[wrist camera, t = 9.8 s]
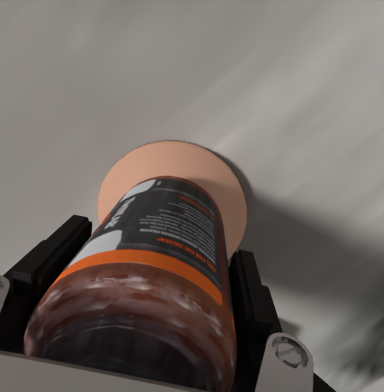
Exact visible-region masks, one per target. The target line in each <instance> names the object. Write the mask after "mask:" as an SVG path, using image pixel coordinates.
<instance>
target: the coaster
mask: <svg viewBox="0 0 384 392" xmlns="http://www.w3.org/2000/svg"><path fill="white" fill-rule="evenodd" d="M158 176H175V177H181V178H184V179H187V180H190V181H192V182H194V183H196V184H197V185H199V186H200V187H202V188H203V189H205V190H206V191H207V192H208V193H209V194H210V195H211V196H212V198H213V199H214V201H215V202H216V204H217V206H218V208H219V210H220V213H221V216H222V221H223V225H224V233H225V240H226V249H227V259H229V258H230V257H231V256H232V255H233V253H234V252H235V251H236V249H237V248H238V246H239V244H240V242H241V240H242V238H243V235H244V232H245V228H246V223H247V205H246V200H245V196H244V193H243V191H242V188H241V185H240V183H239V181H238V179H237V177H236V175H235V174H234V172H233V171H232V170H231V168H230V167H229V166H228V165H227V164H226V163H225V162H224V161H223V160H222V159H221V158H220V157H218V156H217V155H216V154H214V153H213V152H211V151H210V150H208V149H206V148H204V147H201V146H199V145H197V144H193V143H190V142H185V141H179V140H164V141H156V142H152V143H148V144H145V145H143V146H141V147H138V148H136V149H135V150H133V151H131V152H130V153H128V154H127V155H126V156H124V157H123V158H122V159H121V160H119V161H118V162H117V163H116V164H115V165H114V166H113V167H112V169H111V170H110V172H109V173H108V174H107V176H106V178H105V180H104V182H103V184H102V187H101V190H100V193H99V198H98V218H99V223H100V224H101V223H102V222H103V220H104V219H105V218H106V217H107V215H108V214H109V213H110V212H111V210H112V209H113V208H114V207H115V205H116V204H117V203H118V201H119V200H120V199H121V198H122V197H123V196H124V194H126V193H127V192H128V191H129V190H130V189H131V188H132V187H134V186H135V185H137V184H138V183H140V182H142V181H144V180H146V179H149V178H153V177H158Z"/></svg>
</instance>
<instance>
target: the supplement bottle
mask: <svg viewBox="0 0 384 392" xmlns="http://www.w3.org/2000/svg"><path fill="white" fill-rule="evenodd" d="M24 354H25V355H27V356H32V357H38V358H43V359H48V360H53V361H59V362H64V363H69V364H74V365H79V366H84V367H89V368H95V369H100V370H105V371H110V372H115V373H120V374H125V375H130V376H135V377H140V378H145V379H150V380H155V381H160V382H165V383H170V384H175V385H180V386H185V387H190V388H195V389H199V390H204V391H209V392H229V391H230V389H231V386H232V384H233V380H234V376H235V371H236V362H237V342H236V333H235V320H234V311H233V304H232V295H231V285H230V278H229V268H228V259H227V249H226V240H225V233H224V225H223V221H222V216H221V213H220V210H219V208H218V206H217V204H216V202H215V201H214V199H213V198H212V196H211V195H210V194H209V193H208V192H207V191H206V190H205V189H203V188H202V187H200V186H199V185H197V184H196V183H194V182H192V181H190V180H187V179H184V178H181V177H175V176H158V177H153V178H149V179H146V180H144V181H142V182H140V183H138V184H137V185H135V186H134V187H132V188H131V189H130V190H129V191H128V192H127V193H126V194H124V196H123V197H122V198H121V199H120V200H119V201H118V203H117V204H116V205H115V207H114V208H113V209H112V210H111V212H110V213H109V214H108V215H107V217H106V218H105V219H104V220H103V222H102V223H101V224H100V226H99V227H98V228H97V229H96V231H95V232H94V233H93V234H92V236H91V237H90V238H89V239H88V241H87V242H86V243H85V244H84V245H83V246H82V248H81V249H80V250H79V252H78V253H77V254H76V255H75V256H74V258H73V259H72V261H71V262H70V263H69V264H68V265H67V266H66V267H65V268H64V270H63V271H62V273H61V274H60V275H59V277H58V278H57V279H56V280H55V282H54V283H53V284H52V285H51V287H50V288H49V289H48V290H47V292H46V293H45V294H44V296H43V297H42V299H41V300H40V302H39V303H38V304H37V306H36V307H35V309H34V311H33V313H32V315H31V317H30V320H29V321H28V327H27V329H26V332H25V335H24Z"/></svg>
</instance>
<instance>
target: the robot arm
mask: <svg viewBox="0 0 384 392" xmlns="http://www.w3.org/2000/svg"><path fill="white" fill-rule="evenodd" d="M91 233H92V222H90V221H89V220H88V218H87V217H83V216H78V215H73V216H72V217H71V218H70V219H68V220H67V221H66V222H65V223H64V224H63V225H62V226H61V227H60V228H59V229H57V230H56V231H55V232H54V233H53V234H52V235H51V236H50V237H49V238H48V239H46V240H43V241H41V242H40V243H39V244H38V245H37V246H36V247H34V248H33V249H32V250H31V251H30V252H29V253H28V254H27V255H25V256H24V257H23V258H22V259H21V260H20V261H19V262H18V263H17V264H15V265H14V266H13V267H12V268H11V269H10V270H9V271H8V272H6V273H5V274H4V275H3V276H1V275H0V392H209V391H204V390H199V389H195V388H190V387H185V386H180V385H175V384H170V383H165V382H160V381H155V380H150V379H145V378H140V377H135V376H130V375H125V374H120V373H115V372H110V371H105V370H100V369H95V368H89V367H84V366H79V365H74V364H69V363H64V362H59V361H53V360H48V359H43V358H38V357H32V356H27V355H25V354H24V335H25V332H26V329H27V327H28V321H29V320H30V317H31V315H32V313H33V311H34V309H35V307H36V306H37V304H38V303H39V302H40V300H41V299H42V297H43V296H44V294H45V293H46V292H47V290H48V289H49V288H50V287H51V285H52V284H53V283H54V282H55V280H56V279H57V278H58V277H59V275H60V274H61V273H62V271H63V270H64V268H65V267H66V266H67V265H68V264H69V263H70V262H71V261H72V259H73V258H74V256H75V255H76V254H77V253H78V252H79V250H80V249H81V248H82V246H83V245H84V244H85V243H86V242H87V241H88V239H89V238H90V237H91ZM229 278H230V285H231V295H232V304H233V311H234V320H235V333H236V342H237V362H236V371H235V376H234V380H233V384H232V386H231V389H230V391H229V392H336V391H335V390H334V389H333V388H331V387H330V386H329V385H328V384H327V383H326V382H324V381H323V380H322V379H321V378H320V377H319V376H317V375H316V374H315V373H314V372H313V368H314V363H313V357H312V355H311V353H310V351H309V350H308V349H307V347H306V346H305V345H304V344H303V343H302V342H301V341H299V340H298V339H296V338H295V337H293V336H291V335H288V334H286V333H283V332H282V328H281V325H280V322H279V319H278V316H277V313H276V310H275V306H274V303H273V300H272V297H271V294H270V291H269V288H268V287H267V286H264V285H262V283H261V280H260V276H259V273H258V269H257V266H256V262H255V259H254V255H253V253H252V252H249V251H244V250H239V251H238V253H237V252H234V253H233V256H232V259H231V262H230V266H229Z"/></svg>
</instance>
